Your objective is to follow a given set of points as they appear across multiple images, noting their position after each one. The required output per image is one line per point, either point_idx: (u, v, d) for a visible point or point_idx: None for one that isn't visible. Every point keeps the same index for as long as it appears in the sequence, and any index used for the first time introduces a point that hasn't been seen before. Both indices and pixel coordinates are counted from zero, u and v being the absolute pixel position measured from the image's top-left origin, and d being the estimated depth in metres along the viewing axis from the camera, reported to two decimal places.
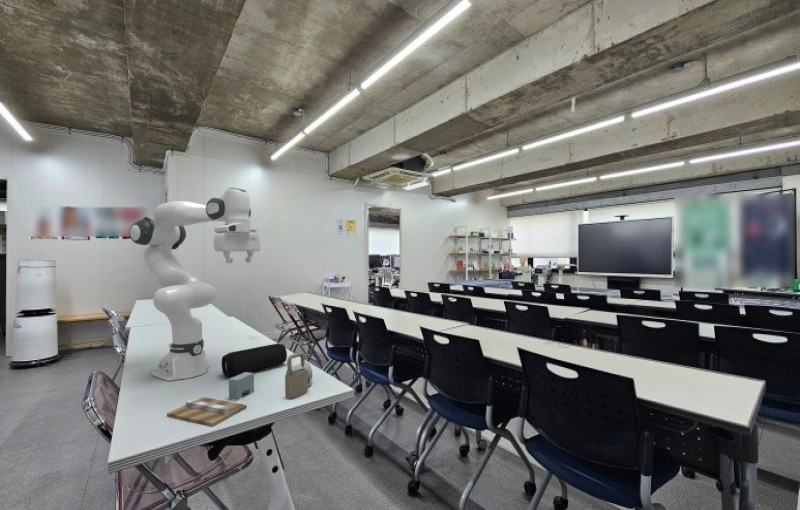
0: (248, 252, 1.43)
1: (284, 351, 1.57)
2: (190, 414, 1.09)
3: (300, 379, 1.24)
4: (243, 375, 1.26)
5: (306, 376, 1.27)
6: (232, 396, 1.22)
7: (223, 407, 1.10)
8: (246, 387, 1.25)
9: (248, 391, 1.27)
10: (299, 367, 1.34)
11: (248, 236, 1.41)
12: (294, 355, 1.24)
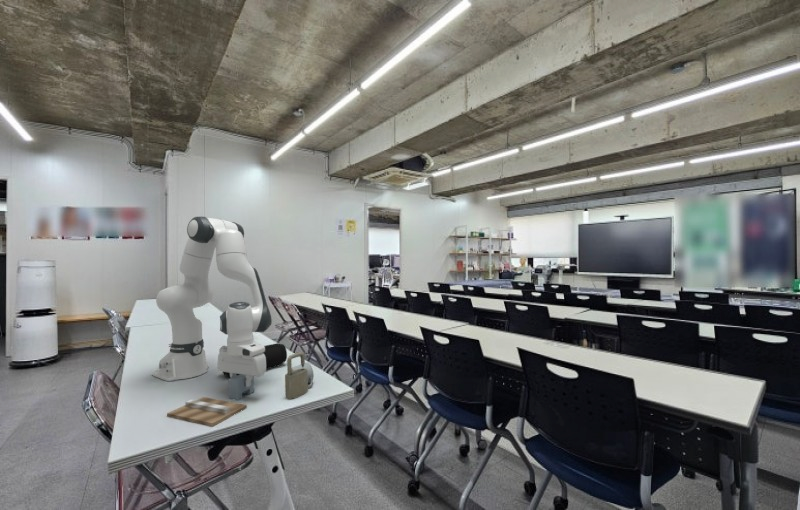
0: (234, 373, 1.26)
1: (284, 351, 1.57)
2: (190, 414, 1.09)
3: (300, 379, 1.24)
4: (243, 375, 1.26)
5: (306, 376, 1.27)
6: (232, 396, 1.22)
7: (223, 407, 1.10)
8: (246, 387, 1.25)
9: (248, 391, 1.27)
10: (300, 368, 1.34)
11: None
12: (294, 355, 1.24)
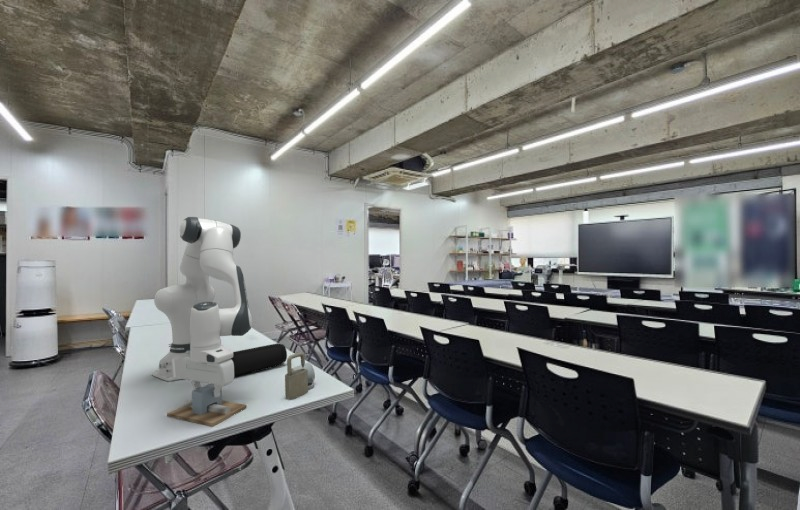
0: (196, 380, 1.14)
1: (284, 351, 1.57)
2: (190, 414, 1.09)
3: (300, 379, 1.24)
4: (209, 386, 1.13)
5: (306, 376, 1.27)
6: (196, 410, 1.09)
7: (223, 407, 1.10)
8: (212, 400, 1.12)
9: None
10: (301, 368, 1.33)
11: None
12: (294, 355, 1.23)
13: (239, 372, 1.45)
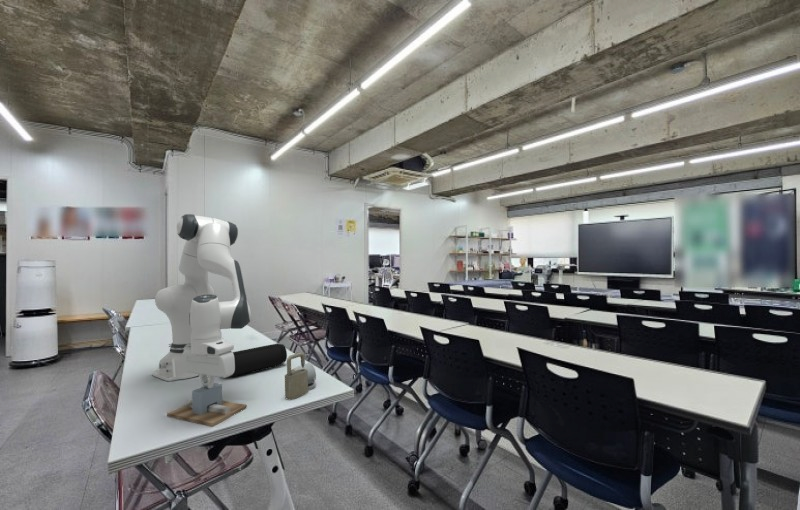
0: (204, 374, 1.13)
1: (284, 351, 1.57)
2: (190, 414, 1.09)
3: (300, 380, 1.23)
4: None
5: (306, 377, 1.26)
6: (196, 410, 1.09)
7: (223, 407, 1.10)
8: (212, 400, 1.12)
9: None
10: (303, 368, 1.33)
11: None
12: (294, 355, 1.23)
13: (239, 372, 1.44)
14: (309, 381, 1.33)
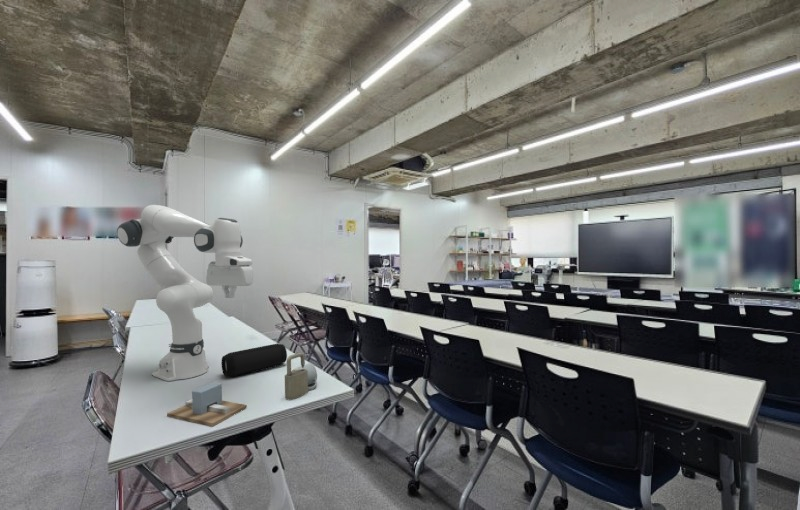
0: (226, 286, 1.30)
1: (284, 351, 1.57)
2: (190, 414, 1.09)
3: (300, 380, 1.23)
4: (209, 386, 1.13)
5: (306, 377, 1.26)
6: (196, 410, 1.09)
7: (223, 407, 1.10)
8: (212, 400, 1.12)
9: None
10: None
11: None
12: (294, 355, 1.23)
13: (239, 372, 1.44)
14: (310, 381, 1.32)
